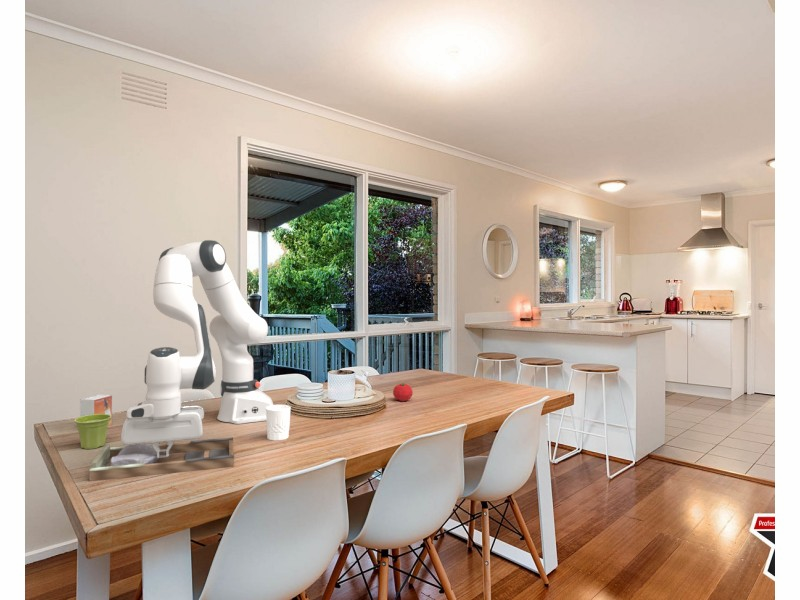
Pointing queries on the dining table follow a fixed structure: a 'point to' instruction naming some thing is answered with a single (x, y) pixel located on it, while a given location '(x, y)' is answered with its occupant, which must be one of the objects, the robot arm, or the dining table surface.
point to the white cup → (278, 422)
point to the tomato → (402, 392)
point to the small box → (96, 406)
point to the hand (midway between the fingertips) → (163, 456)
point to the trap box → (189, 464)
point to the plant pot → (92, 430)
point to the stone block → (135, 455)
